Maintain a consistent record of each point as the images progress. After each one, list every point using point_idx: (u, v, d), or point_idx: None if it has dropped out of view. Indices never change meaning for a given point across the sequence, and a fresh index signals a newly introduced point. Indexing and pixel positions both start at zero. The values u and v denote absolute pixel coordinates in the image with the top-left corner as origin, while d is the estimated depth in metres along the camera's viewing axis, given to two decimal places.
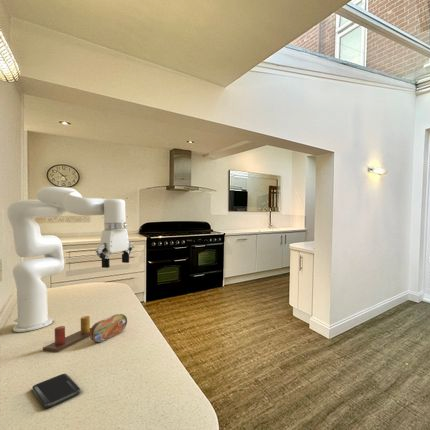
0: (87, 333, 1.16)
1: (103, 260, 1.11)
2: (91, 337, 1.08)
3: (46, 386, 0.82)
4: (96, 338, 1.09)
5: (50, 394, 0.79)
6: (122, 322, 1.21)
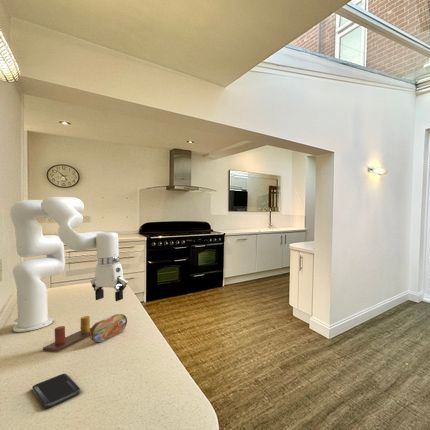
0: (87, 333, 1.16)
1: None
2: (91, 337, 1.08)
3: (46, 386, 0.82)
4: (96, 338, 1.09)
5: (50, 394, 0.79)
6: (122, 322, 1.21)
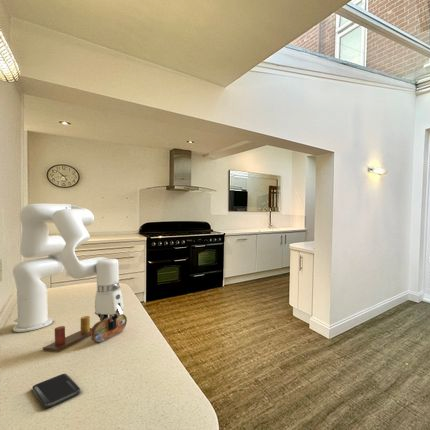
0: (87, 333, 1.16)
1: None
2: (92, 337, 1.08)
3: (46, 386, 0.82)
4: (97, 338, 1.09)
5: (50, 394, 0.79)
6: (122, 322, 1.21)
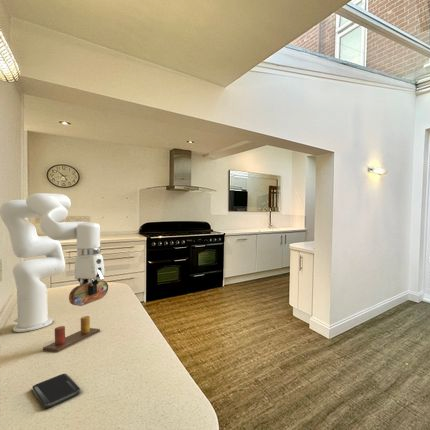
0: (87, 333, 1.16)
1: None
2: (71, 300, 1.06)
3: (46, 386, 0.82)
4: (76, 302, 1.07)
5: (50, 394, 0.79)
6: (103, 289, 1.18)
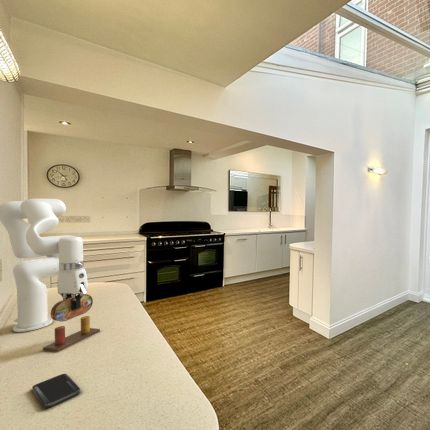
0: (87, 333, 1.16)
1: None
2: (52, 316, 1.04)
3: (46, 386, 0.82)
4: (58, 317, 1.06)
5: (50, 394, 0.79)
6: (87, 303, 1.17)
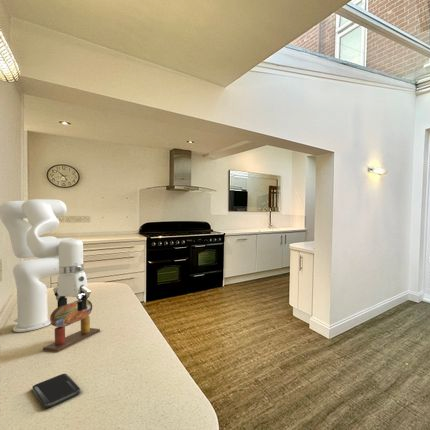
0: (87, 333, 1.16)
1: None
2: (52, 322, 1.05)
3: (46, 386, 0.82)
4: (57, 323, 1.06)
5: (50, 394, 0.79)
6: (87, 308, 1.17)
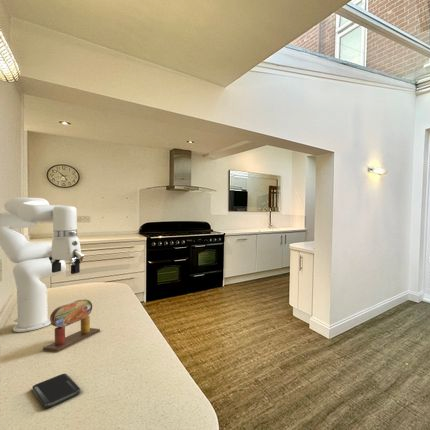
0: (87, 333, 1.16)
1: None
2: (52, 322, 1.05)
3: (46, 386, 0.82)
4: (57, 323, 1.06)
5: (50, 394, 0.79)
6: (87, 308, 1.17)
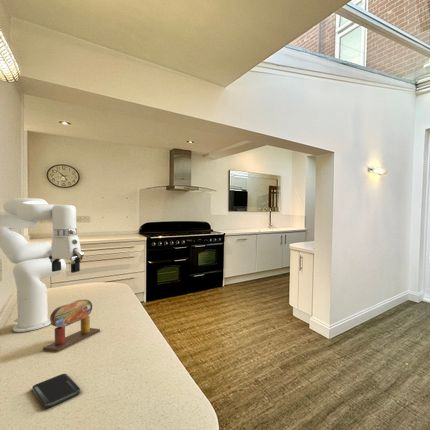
0: (87, 333, 1.16)
1: None
2: (52, 322, 1.05)
3: (46, 386, 0.82)
4: (57, 323, 1.06)
5: (50, 394, 0.79)
6: (87, 308, 1.17)
